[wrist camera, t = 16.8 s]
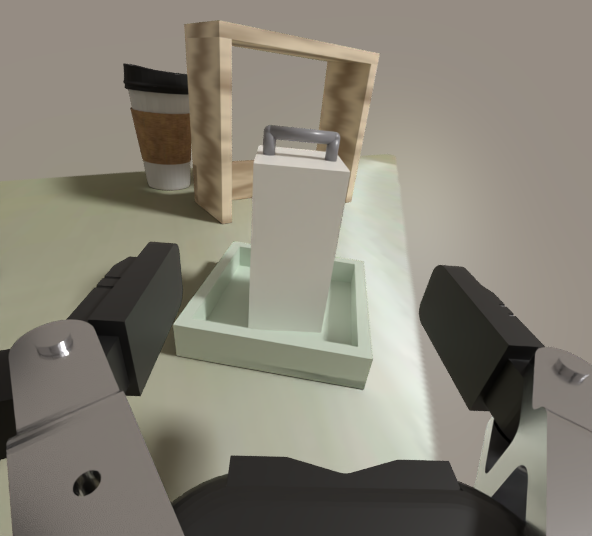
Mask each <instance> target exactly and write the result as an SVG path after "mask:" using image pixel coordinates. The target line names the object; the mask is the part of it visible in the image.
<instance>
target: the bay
mask: <svg viewBox="0 0 592 536" xmlns="http://www.w3.org/2000/svg"><path fill="white" fill-rule="evenodd" d="M184 27H185V42H186V60H187V77H188V93H189V110H190V127H191V143H192V160H193V176H194V193H195V202H196V203H197V204H199V205H200V206H201V207H202V208H203V209H205V210H206V211H207V212H208V213H210V214H211V215H212V216H213V217H215V218H216V219H217V220H218V221H220V222H221V223H222V224H225V223H231V222H232V200H237V199H245V198H252V196H253V165H254V160H246V161H232V46H236V47H243V48H248V49H254V50H260V51H266V52H272V53H279V54H284V55H291V56H297V57H303V58H309V59H315V60H321V61H327V70H326V79H325V87H324V94H323V102H322V110H321V118H320V126H319V130H324V131H333V132H337V133H338V134H339V135H340V143H339V149H338V156H339V157H340V159H341V160H342V161H343V163H344V164H345V165H346V167H347V168H348V169H349V171H350V177H349V183H348V188H347V194H346V199H345V202H351V200H352V195H353V190H354V185H355V179H356V174H357V169H358V164H359V159H360V153H361V148H362V143H363V137H364V133H365V127H366V122H367V117H368V111H369V107H370V101H371V95H372V91H373V85H374V81H375V75H376V70H377V65H378V60H379V55H380V54H379V53H374V52H369V51H364V50H360V49H354V48H350V47H345V46H340V45H335V44H331V43H326V42H321V41H316V40H312V39H307V38H301V37H297V36H292V35H288V34H283V33H278V32H273V31H268V30H264V29H258V28H254V27H249V26H244V25H239V24H235V23H229V22H225V21H220V20H217V21H208V22H199V23H191V24H184ZM326 147H327V144H318V143H317V149H316V151H324V152H326Z"/></svg>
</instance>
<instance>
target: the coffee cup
mask: <svg viewBox="0 0 592 536" xmlns="http://www.w3.org/2000/svg"><path fill="white" fill-rule="evenodd" d="M123 65H124V83H125V88H126V89H128V91H129V96H130V100H131V105H132V107H131V112H132V117H133V121H134V125H135V130H136V134H137V138H138V142H139V146H140V151H141V155H142V159H143V162H144V167H145V172H146V177H147V182H148V185H149V186H150V187H152V188H155V189H160V190H179V189H184V188H187V187H188V186H189V185H190V161H191V127H190V110H189V93H188V77H187V74H179V73H172V72H164V71H158V70H153V69H148V68H145V67H141V66H137V65H132V64H123Z"/></svg>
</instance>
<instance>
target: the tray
mask: <svg viewBox="0 0 592 536" xmlns="http://www.w3.org/2000/svg"><path fill="white" fill-rule="evenodd" d="M250 257H251V244H248V243H242V242H235V241H233V243H232V244H231V245H230V247H229V248H228V250H227V251H226V252H225V254H224V255H223V256H222V258H221V259H220V261H219V262H218V263H217V265H216V266H215V267H214V269H213V270H212V272H211V273H210V274H209V276H208V277H207V278H206V280H205V281H204V282H203V284H202V285H201V287H200V288H199V289H198V291H197V292H196V293H195V295H194V296H193V298H192V299H191V300H190V302H189V303H188V304H187V306H186V307H185V309H184V310H183V311H182V313H181V314H180V315H179V317H178V318H177V320H176V321H175V322H174V324H173V330H174V338H175V347H176V355H177V356H181V357H187V358H192V359H198V360H204V361H209V362H215V363H220V364H226V365H231V366H237V367H242V368H248V369H253V370H259V371H264V372H270V373H275V374H281V375H287V376H292V377H298V378H303V379H309V380H314V381H320V382H325V383H331V384H336V385H342V386H347V387H353V388H358V389H364V387H365V383H366V380H367V377H368V374H369V370H370V367H371V364H372V361H373V355H372V345H371V334H370V323H369V312H368V301H367V290H366V279H365V269H364V261H359V260H353V259H346V258H340V257H335V260H334V265H333V271H332V276H331V281H330V287H329V292H328V298H327V303H326V309H325V314H324V320H323V325H322V331H321V333H315V332H294V331H274V330H257V329H251V328H248V319H249V288H250Z"/></svg>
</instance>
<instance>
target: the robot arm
mask: <svg viewBox="0 0 592 536" xmlns="http://www.w3.org/2000/svg"><path fill="white" fill-rule="evenodd" d="M182 292H183V288H182V276H181V264H180V253H179V247H178V245H177V244H174V243H161V242H149V243H148V244H147V245H146V247H145V248H144V249H143V250H142V252H141V253H140V254H139V255H138V257H128V258H126V259H125V260H123V261H121V262H119V263H117V264H116V265H114V266H113V267H112V268H111V269H110V271H109V272H108V273H107V274H106V275H105V278H103V279H102V280H101V281H100V282H99V283H98V284H97V287H96V288H94V289H93V290H92V291H91V292H90V293H89V294H88V296H87V297H86V298H85V299H84V300H83V301H82V302H81V304H80V305H79V306H78V307H77V308H76V309H75V310H74V312H73V313H72V314H71V315H70V316H69V317H68V318H67V319H66V320H60V321H55V322H51V323H47V324H44V325H41V326H39V327H37V328H35V329H33V330H31V331H29V332H27V333H26V334H24V335H23V336H22V337H20V338H19V339H18V340H17V341H16V342H15V343H14V344H13V346H12V347H11V349H7V350H1V351H0V460H1V459H5V458H7V467H8V480H9V492H10V505H11V518H12V531H13V536H592V365H591V364H590V363H588V362H587V361H585V360H583V359H582V358H580V357H578V356H576V355H574V354H572V353H570V352H567V351H564V350H561V349H557V348H552V347H545V346H544V345H543V344H542V343H541V342H540V341H539V340H538V339H537V338H536V337H535V336H534V335H533V334H532V333H531V332H530V331H529V330H528V328H527V327H526V326H525V325H524V324H523V323H522V322H521V321H520V320H519V319H518V318H517V317H516V316H513V313H512V312H511V311H510V310H509V309H508V308H507V307H505V306H504V304H503V302H502V301H501V300H500V299H499V298H498V297H497V296H496V295H495V294H494V293H493V292H491V291H490V290H488V289H486V288H485V287H483V286H482V285H481V284H480V283H479V282H478V281H477V280H476V279H475V278H474V277H473V276H472V275H471V274H470V273H469V272H468V271H467V270H466V269H465V268H464V267H459V266H446V265H438V266H437V267H435V269H434V270H433V272H432V275H431V277H430V280H429V283H428V285H427V288H426V291H425V293H424V296H423V299H422V301H421V304H420V308H419V317H420V321H421V324H422V326H423V327H424V329H425V331H426V333H427V335H428V336H429V338H430V340H431V342H432V344H433V345H434V347H435V349H436V351H437V353H438V355H439V356H440V358H441V360H442V362H443V364H444V365H445V367H446V369H447V371H448V373H449V374H450V376H451V378H452V380H453V382H454V383H455V385H456V387H457V389H458V390H459V393H460V394H461V396H462V398H463V400H464V402H465V403H466V405H467V407H468V409H469V410H471V411H490V413H491V415H492V418H491V419H490V421H489V422H488V424H487V427H486V432H485V437H484V443H483V447H482V454H481V458H480V463H479V468H478V473H477V478H476V482H475V485H474V487H471V486H469V485H466V484H464V483H462V482H459V481H457V479H456V477H455V475H454V472H453V470H452V467H451V465H450V463H449V461H426V460H395V461H391V462H388V463H384V464H381V465H377V466H374V467H370V468H367V469H363V470H360V471H356V472H353V473H348V474H345V473H339V472H335V471H332V470H329V469H325V468H322V467H319V466H315V465H312V464H309V463H305V462H302V461H298V460H295V459H292V458H288V457H267V456H231V457H230V465H229V472H228V474H226V475H222V476H218V477H215V478H213V479H210V480H208V481H205V482H203V483H201V484H199V485H197V486H196V487H194V488H192V489H190V490H188V491H187V492H185V493H184V494H183V495H181V496H180V497H178V498H177V499H175V500H174V501H173V502H172V503H170V500H169V498H168V495H167V493H166V491H165V488H164V486H163V483H162V481H161V479H160V476H159V474H158V472H157V469H156V467H155V464H154V462H153V460H152V457H151V455H150V453H149V450H148V448H147V445H146V443H145V441H144V438H143V436H142V433H141V431H140V429H139V426H138V424H137V422H136V419H135V417H134V414H133V412H132V410H131V407H130V405H129V403H128V400H127V398H126V396H141V394H142V392H143V389H144V387H145V385H146V383H147V380H148V378H149V376H150V374H151V371H152V369H153V367H154V364H155V362H156V360H157V358H158V355H159V353H160V351H161V349H162V346H163V344H164V342H165V340H166V337H167V335H168V333H169V331H170V328H171V326H172V324H173V321H174V319H175V317H176V315H177V312H178V310H179V308H180V305H181V301H182Z"/></svg>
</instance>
